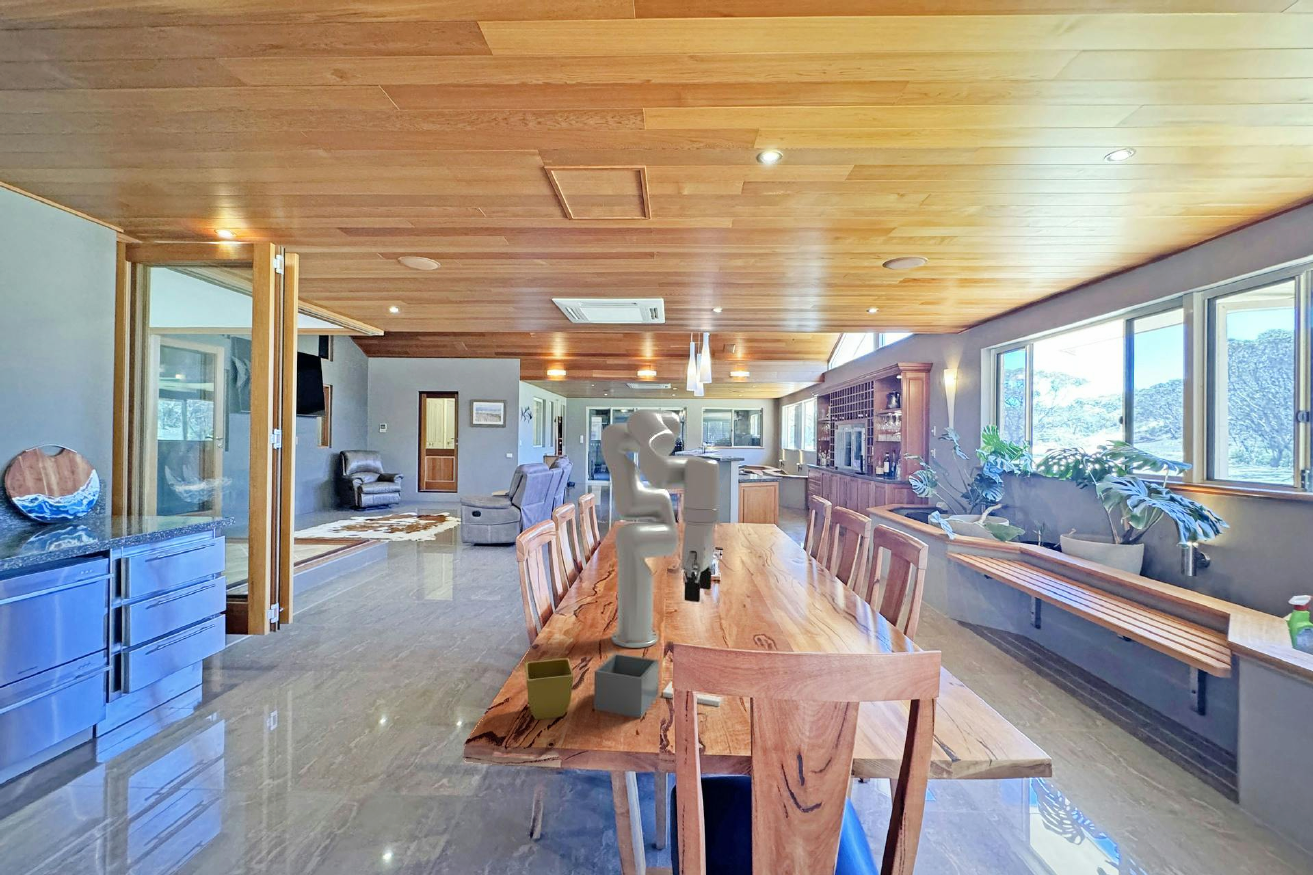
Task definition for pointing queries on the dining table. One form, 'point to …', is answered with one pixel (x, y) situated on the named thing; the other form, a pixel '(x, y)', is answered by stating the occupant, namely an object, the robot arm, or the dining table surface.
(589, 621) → the dining table surface
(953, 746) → the dining table surface
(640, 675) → the open box
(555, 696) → the flower pot
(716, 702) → the lid
